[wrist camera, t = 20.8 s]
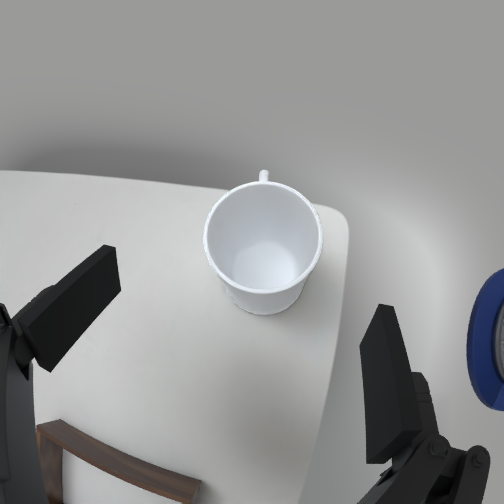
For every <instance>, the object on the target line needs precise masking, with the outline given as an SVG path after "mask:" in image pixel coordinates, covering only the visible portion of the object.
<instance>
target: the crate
mask: <svg viewBox="0 0 504 504" xmlns="http://www.w3.org/2000/svg"><path fill="white" fill-rule="evenodd" d="M36 430H37V431H36V437H37V445H38V452H39V459H40V465H41V470H42V475H43V480H44V485H45V489H46V494H47V498H48V501H49V503H50V504H63V500H62V448H64V449H65V450H67V451H69V452H70V453H72V454H74V455H75V456H77V457H79V458H81V459H82V460H84V461H86V462H88V463H90V464H91V465H93V466H95V467H97V468H99V469H101V470H103V471H105V472H107V473H109V474H111V475H113V476H115V477H117V478H119V479H122V480H124V481H126V482H128V483H131V484H133V485H135V486H138V487H140V488H142V489H145V490H147V491H150V492H153V493H155V494H158V495H161V496H164V497H166V498H169V499H172V500H175V501H178V502H181V503H182V504H196V502H197V498H198V493H199V489H200V485H201V480H197V479H194V478H191V477H187V476H184V475H181V474H178V473H175V472H172V471H169V470H166V469H163V468H160V467H158V466H155V465H152V464H150V463H147V462H145V461H142V460H140V459H137V458H135V457H132V456H130V455H128V454H126V453H123V452H121V451H119V450H117V449H114V448H112V447H110V446H108V445H106V444H104V443H102V442H100V441H98V440H96V439H94V438H92V437H90V436H88V435H87V434H85V433H83V432H81V431H79V430H78V429H76V428H74V427H72V426H71V425H69V424H67V423H65V422H64V421H62V420H61V419H59V420H55V421H51V422H47V423H43V424H39V425H36Z"/></svg>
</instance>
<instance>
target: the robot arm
mask: <svg viewBox="0 0 504 504" xmlns="http://www.w3.org/2000/svg"><path fill="white" fill-rule="evenodd" d="M120 291H121V286H120V280H119V272H118V265H117V256H116V247H112V246H108V245H103V246H102V247H100V248H99V249H98V250H97V251H95V252H94V253H93V254H92V255H90V256H89V257H88V258H87V259H85V260H84V261H83V262H82V263H80V264H79V265H78V266H77V267H75V268H74V269H73V270H72V271H71V272H69V273H68V274H67V275H66V276H65V277H64V278H62V279H61V280H60V281H59V282H58V283H57V284H55V285H52V286H50V287H48V288H46V289H44V290H42V291H41V292H40V293H39V294H38V295H37V296H36V297H34V298H33V299H32V300H31V302H29V303H28V304H27V305H26V306H24V307H23V308H22V309H21V310H20V311H19V312H18V313H17V314H16V315H15V316H14V317H13V318H12V319H11V318H10V316H9V314H8V311H7V309H6V307H5V305H4V304H2V303H0V504H50V503H49V501H48V498H47V494H46V489H45V485H44V480H43V475H42V470H41V465H40V459H39V452H38V445H37V437H36V427H35V416H34V398H33V364H32V362H31V360H32V359H33V358H34V357H35V359H36V361H37V363H38V365H39V366H40V367H42V368H43V369H45V370H47V371H48V372H50V373H51V371H52V370H53V369H54V368H55V366H56V365H57V364H58V363H59V361H60V360H61V359H62V358H63V357H64V355H65V354H66V353H67V352H68V351H69V349H70V348H71V347H72V346H73V345H74V343H75V342H76V341H77V340H78V339H79V337H80V336H81V335H82V334H83V333H84V332H85V331H86V329H87V328H88V327H89V326H90V325H91V324H92V322H93V321H94V320H95V319H96V318H97V317H98V316H99V315H100V313H101V312H102V311H103V310H104V309H105V308H106V307H107V306H108V305H109V303H110V302H111V301H112V300H113V299H114V298H115V297H116V296H117V295H118V294H119V293H120ZM360 355H361V364H362V376H363V389H364V403H365V423H366V463H367V464H384V463H386V462H387V461H388V460H389V459H391V458H392V466H391V467H390V468H388V469H387V470H386V471H384V472H383V473H382V474H380V476H381V478H380V479H379V481H378V482H377V483H376V484H375V485H374V486H373V487H372V488H371V490H370V491H369V492H368V493H367V494H366V495H365V496H364V497H363V498H362V499H361V500H360V501H359V502H358V503H357V504H481V503H482V500H483V496H484V491H485V487H486V483H487V478H488V473H489V468H490V455H489V452H488V451H487V450H486V448H484V447H482V446H479V445H476V446H473V447H471V448H470V449H469V450H468V451H464V450H460V449H456V448H452V447H451V446H450V444H449V442H448V440H447V439H446V438H445V437H443V436H441V435H439V431H438V427H437V421H436V416H435V412H434V407H433V403H432V398H431V395H430V390H429V386H428V382H427V381H426V379H425V378H424V376H423V375H422V373H420V372H411V369H410V364H409V360H408V356H407V352H406V348H405V345H404V341H403V338H402V334H401V330H400V327H399V323H398V320H397V316H396V313H395V310H394V307H393V306H389V305H383V304H379V305H378V307H377V309H376V312H375V314H374V316H373V318H372V320H371V323H370V325H369V327H368V329H367V331H366V333H365V336H364V338H363V339H362V342H361V344H360ZM491 355H492V362H493V366H494V369H495V372H496V374H497V376H498V378H499V379H500V381H501V382H502V383H503V384H504V299H503V300H502V302H501V303H500V305H499V307H498V310H497V312H496V315H495V319H494V323H493V328H492V335H491Z"/></svg>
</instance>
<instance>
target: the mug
mask: <svg viewBox="0 0 504 504" xmlns="http://www.w3.org/2000/svg"><path fill="white" fill-rule="evenodd" d="M203 242H204V249H205V253H206V256H207V259H208V261H209V263H210V265H211V266H212V268H213V269H214V271H215V272H216V274H217V275H218V277H219V278H220V279H221V281H222V282H223V284H224V285H225V288H226V290H227V293H228V294H229V296H230V298H231V299H232V300H233V301H234V302H235V303H236V304H237V305H238V306H239V307H240V308H242V309H244V310H245V311H248V312H250V313H253V314H258V315H271V314H275V313H278V312H281V311H283V310H285V309H287V308H288V307H289V306H291V305H292V304H293V303H294V302H295V301H296V300H297V298H298V297H299V295H300V294H301V292H302V290H303V287H304V283H305V281H306V280H307V278H308V277H309V275H310V273H311V272H312V270H313V268H314V267H315V265H316V263H317V261H318V259H319V257H320V254H321V250H322V245H323V230H322V225H321V221H320V218H319V216H318V214H317V212H316V210H315V209H314V207H313V206H312V204H311V203H310V202H309V201H308V200H307V199H306V198H305V197H304V196H303V195H302V194H300V193H299V192H298V191H296V190H294V189H292V188H291V187H288V186H286V185H283V184H280V183H275V182H269V172H268V171H267V170H261V171H260V173H259V182H252V183H247V184H244V185H241V186H238V187H236V188H234V189H232V190H231V191H229V192H228V193H226V194H225V195H224V196H222V197H221V198H220V199H219V200H218V201H217V203H216V204H215V205H214V206H213V208H212V209H211V211H210V213H209V215H208V217H207V220H206V223H205V227H204V233H203Z"/></svg>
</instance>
